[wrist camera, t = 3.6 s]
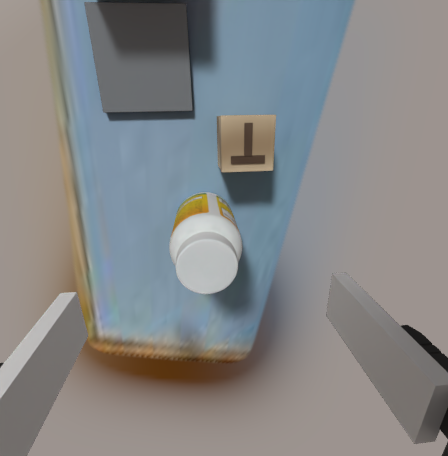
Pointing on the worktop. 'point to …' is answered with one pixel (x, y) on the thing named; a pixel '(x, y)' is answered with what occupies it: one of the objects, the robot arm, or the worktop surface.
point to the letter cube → (246, 142)
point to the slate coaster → (141, 56)
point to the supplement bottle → (205, 244)
